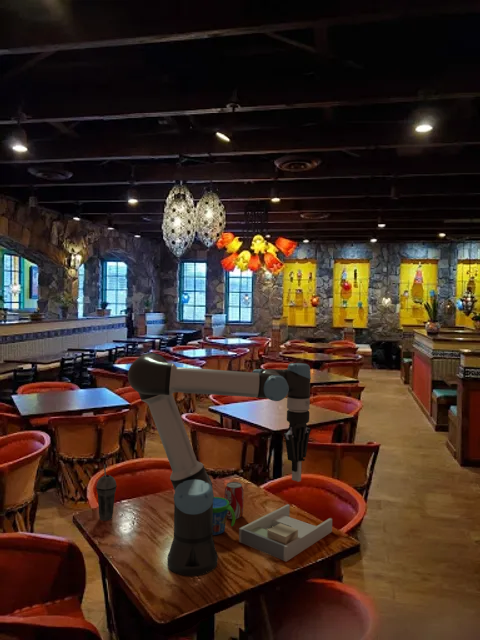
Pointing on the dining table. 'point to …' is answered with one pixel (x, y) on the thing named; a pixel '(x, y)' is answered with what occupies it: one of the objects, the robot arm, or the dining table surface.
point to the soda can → (234, 498)
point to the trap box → (257, 539)
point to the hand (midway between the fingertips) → (296, 480)
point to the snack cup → (221, 515)
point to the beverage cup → (106, 496)
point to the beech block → (282, 533)
